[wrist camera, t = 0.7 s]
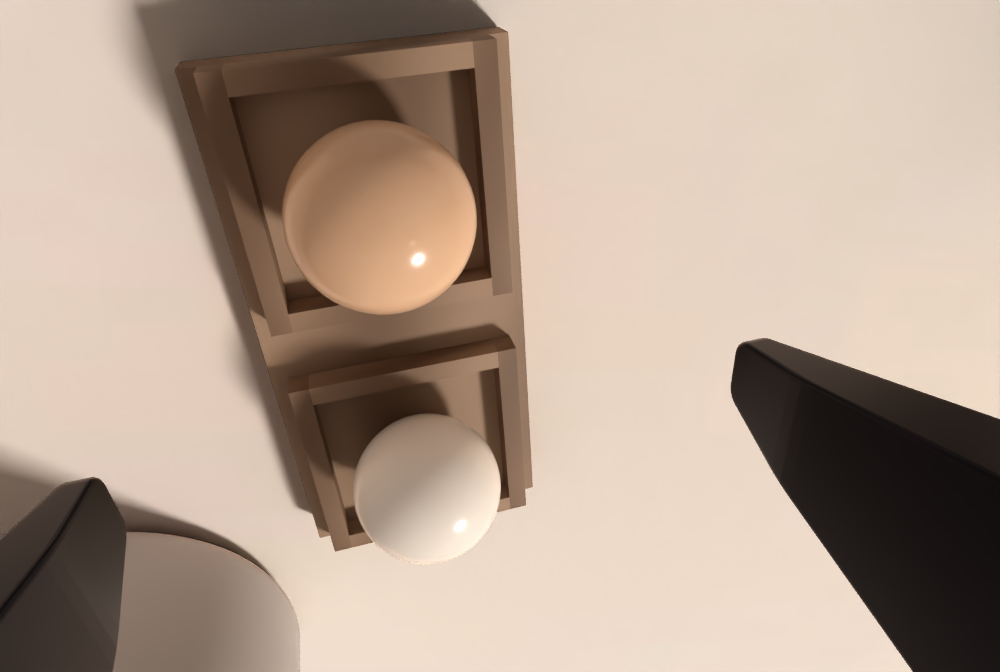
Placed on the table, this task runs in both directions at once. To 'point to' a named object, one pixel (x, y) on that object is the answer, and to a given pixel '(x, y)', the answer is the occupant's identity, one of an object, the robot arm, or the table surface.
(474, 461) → the white smooth ball
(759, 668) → the table surface
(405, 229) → the egg brown
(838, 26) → the table surface
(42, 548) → the robot arm
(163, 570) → the cylinder vase
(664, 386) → the table surface
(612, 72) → the table surface
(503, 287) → the rack
